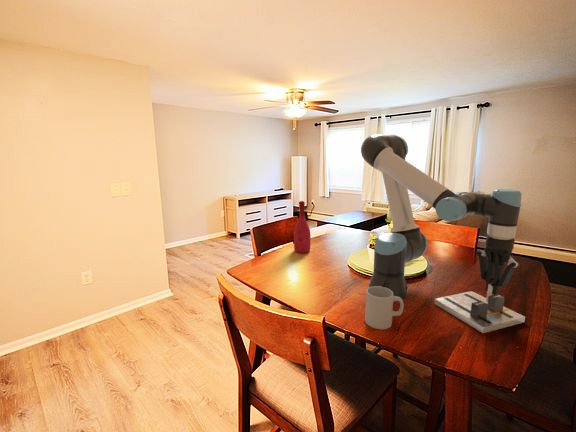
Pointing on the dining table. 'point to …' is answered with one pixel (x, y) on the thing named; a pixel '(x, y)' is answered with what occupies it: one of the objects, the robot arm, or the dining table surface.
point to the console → (478, 312)
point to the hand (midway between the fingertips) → (490, 301)
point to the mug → (381, 307)
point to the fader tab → (495, 302)
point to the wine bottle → (302, 232)
